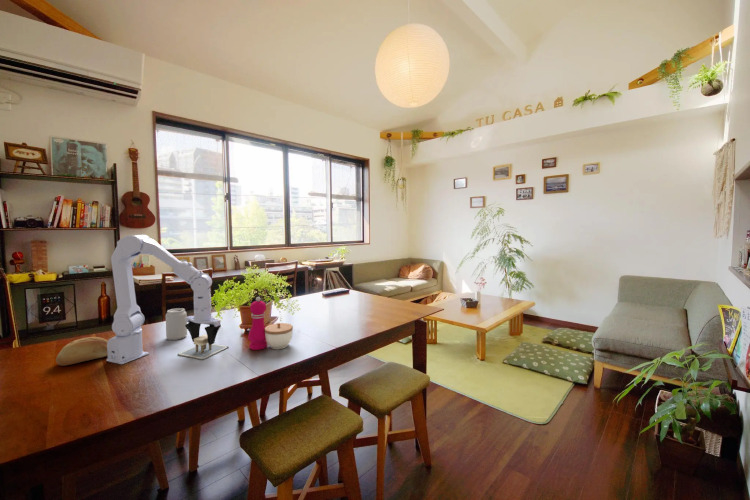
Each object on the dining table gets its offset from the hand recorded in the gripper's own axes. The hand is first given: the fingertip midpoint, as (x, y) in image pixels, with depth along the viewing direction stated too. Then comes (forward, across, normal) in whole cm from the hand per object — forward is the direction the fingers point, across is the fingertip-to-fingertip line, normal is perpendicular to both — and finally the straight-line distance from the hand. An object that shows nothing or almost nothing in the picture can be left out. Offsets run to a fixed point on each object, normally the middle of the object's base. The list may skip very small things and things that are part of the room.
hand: (203, 342), depth 119 cm
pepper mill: (+4, -16, -11) cm, 20 cm away
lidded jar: (+4, -23, -14) cm, 28 cm away
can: (+4, +22, -7) cm, 23 cm away
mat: (+3, 0, 0) cm, 3 cm away
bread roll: (+4, +31, +20) cm, 37 cm away
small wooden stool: (+3, 0, 0) cm, 3 cm away
